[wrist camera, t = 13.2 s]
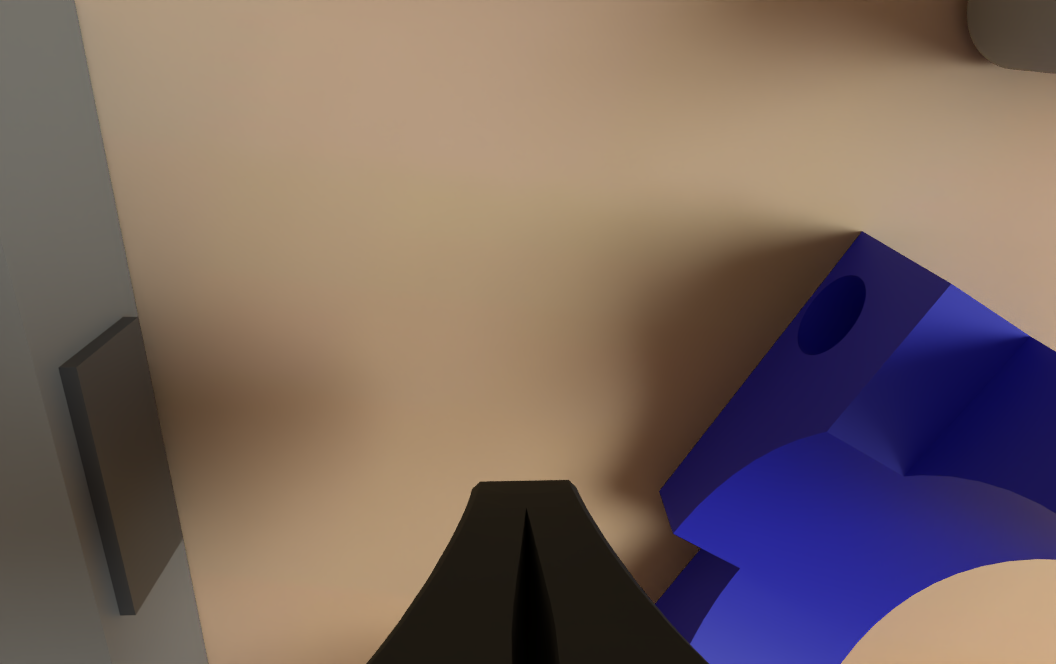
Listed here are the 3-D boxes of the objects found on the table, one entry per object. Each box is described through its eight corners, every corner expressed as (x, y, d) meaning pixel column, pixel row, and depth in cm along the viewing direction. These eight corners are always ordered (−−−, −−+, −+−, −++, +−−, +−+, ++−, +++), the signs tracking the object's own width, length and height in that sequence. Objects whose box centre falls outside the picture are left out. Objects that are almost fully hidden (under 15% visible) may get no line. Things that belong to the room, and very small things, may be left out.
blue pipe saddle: (858, 228, 13) (1111, 378, 8) (1044, 352, 14) (1388, 564, 9) (500, 688, 17) (498, 1015, 11) (668, 761, 18) (741, 1096, 12)
